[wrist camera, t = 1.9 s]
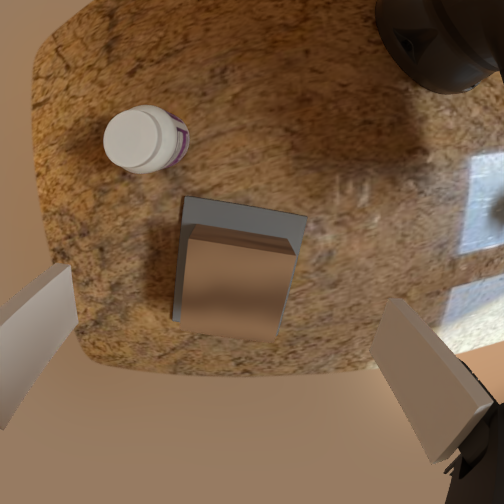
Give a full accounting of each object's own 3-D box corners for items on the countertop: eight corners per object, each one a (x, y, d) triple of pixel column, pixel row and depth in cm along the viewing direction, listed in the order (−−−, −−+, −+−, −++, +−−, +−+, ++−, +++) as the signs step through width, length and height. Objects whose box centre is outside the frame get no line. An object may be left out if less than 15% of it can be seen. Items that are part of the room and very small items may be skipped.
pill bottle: (128, 135, 26) (81, 131, 17) (172, 103, 25) (141, 83, 16) (155, 179, 27) (118, 193, 18) (201, 148, 27) (182, 147, 18)
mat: (185, 195, 28) (185, 196, 28) (306, 216, 29) (307, 217, 29) (173, 319, 32) (172, 320, 32) (276, 333, 34) (277, 335, 33)
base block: (196, 223, 29) (188, 238, 24) (287, 238, 29) (296, 255, 25) (187, 304, 31) (179, 329, 27) (268, 316, 32) (273, 343, 28)
